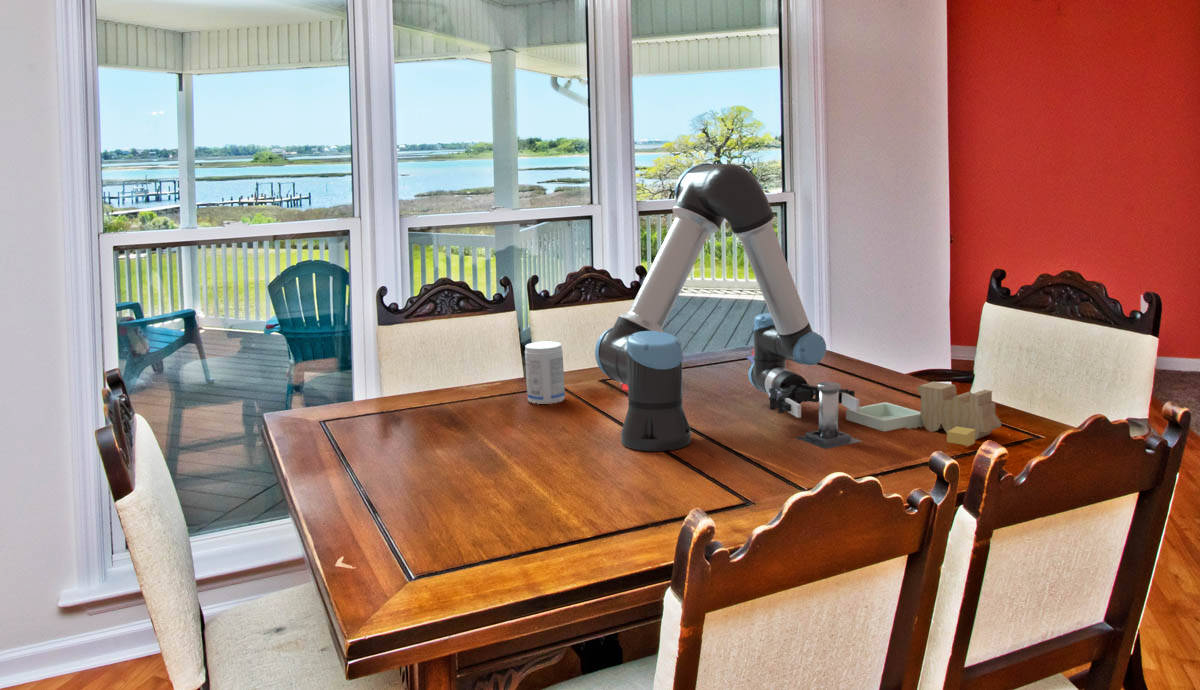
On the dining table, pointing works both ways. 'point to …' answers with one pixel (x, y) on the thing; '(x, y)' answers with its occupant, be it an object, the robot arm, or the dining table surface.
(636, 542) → the dining table surface
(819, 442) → the collar plate
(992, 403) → the toy train
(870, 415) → the tray
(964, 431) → the tan rectangular block
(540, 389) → the supplement tub
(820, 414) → the pin
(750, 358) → the geometric puzzle
